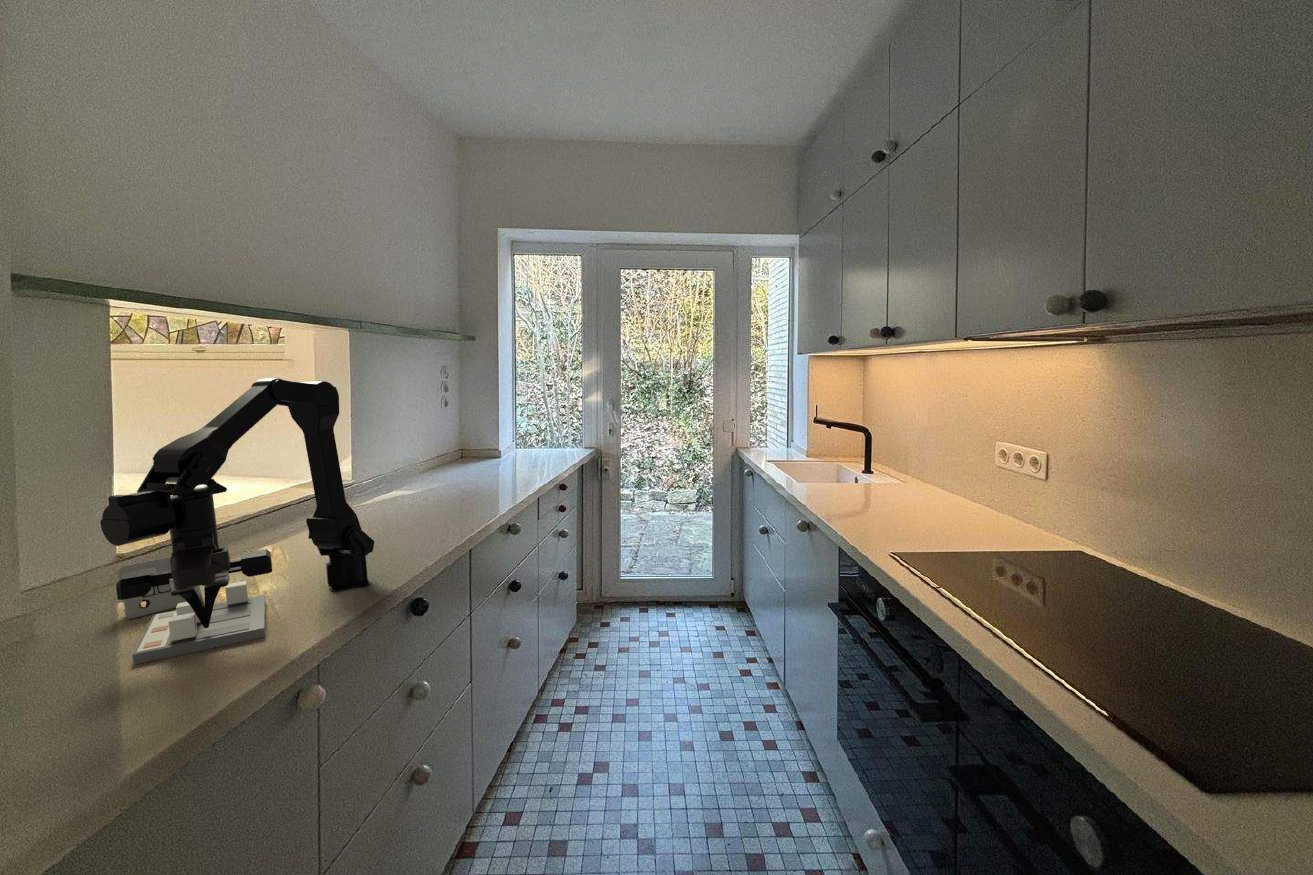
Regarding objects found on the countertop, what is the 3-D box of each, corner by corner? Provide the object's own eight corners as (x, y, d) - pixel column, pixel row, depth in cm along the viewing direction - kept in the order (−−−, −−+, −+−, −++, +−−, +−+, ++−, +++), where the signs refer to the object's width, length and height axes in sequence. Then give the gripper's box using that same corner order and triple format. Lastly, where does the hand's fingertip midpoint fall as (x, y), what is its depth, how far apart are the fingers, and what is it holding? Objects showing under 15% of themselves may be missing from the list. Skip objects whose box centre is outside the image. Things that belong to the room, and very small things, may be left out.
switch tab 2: (197, 631, 97) (195, 612, 96) (195, 636, 95) (193, 617, 94) (172, 635, 95) (170, 616, 95) (170, 641, 93) (168, 621, 93)
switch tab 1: (202, 617, 103) (200, 599, 103) (201, 621, 101) (199, 603, 100) (180, 621, 101) (177, 603, 101) (178, 626, 99) (176, 607, 99)
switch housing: (265, 602, 114) (264, 593, 114) (265, 637, 98) (263, 626, 98) (154, 623, 106) (153, 613, 106) (133, 664, 90) (132, 653, 90)
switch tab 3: (248, 597, 112) (246, 580, 112) (247, 601, 110) (246, 584, 110) (227, 600, 110) (226, 584, 110) (227, 604, 108) (225, 587, 108)
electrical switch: (126, 621, 108) (119, 567, 107) (119, 617, 111) (112, 565, 111) (192, 605, 115) (185, 554, 115) (184, 602, 118) (177, 553, 118)
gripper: (100, 550, 83) (117, 664, 85) (266, 526, 93) (278, 628, 94) (117, 534, 92) (132, 637, 94) (266, 514, 102) (277, 607, 104)
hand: (206, 627), depth 96 cm, fingers closed
